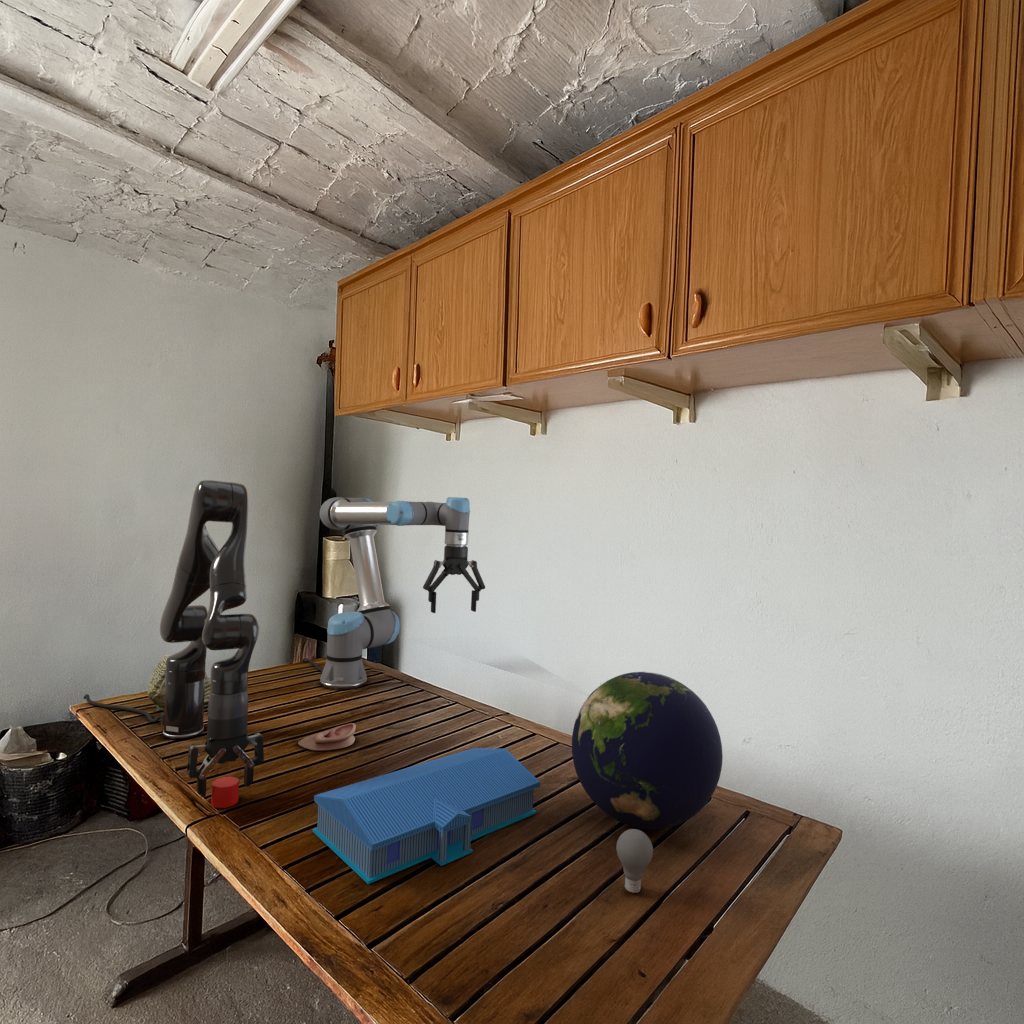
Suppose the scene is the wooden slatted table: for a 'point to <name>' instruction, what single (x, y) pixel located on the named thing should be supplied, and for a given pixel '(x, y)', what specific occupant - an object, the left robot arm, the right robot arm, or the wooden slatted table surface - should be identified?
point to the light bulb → (634, 857)
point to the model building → (424, 811)
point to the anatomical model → (330, 738)
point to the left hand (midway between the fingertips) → (225, 790)
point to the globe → (647, 750)
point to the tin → (225, 792)
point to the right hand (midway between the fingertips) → (453, 611)
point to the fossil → (158, 685)
